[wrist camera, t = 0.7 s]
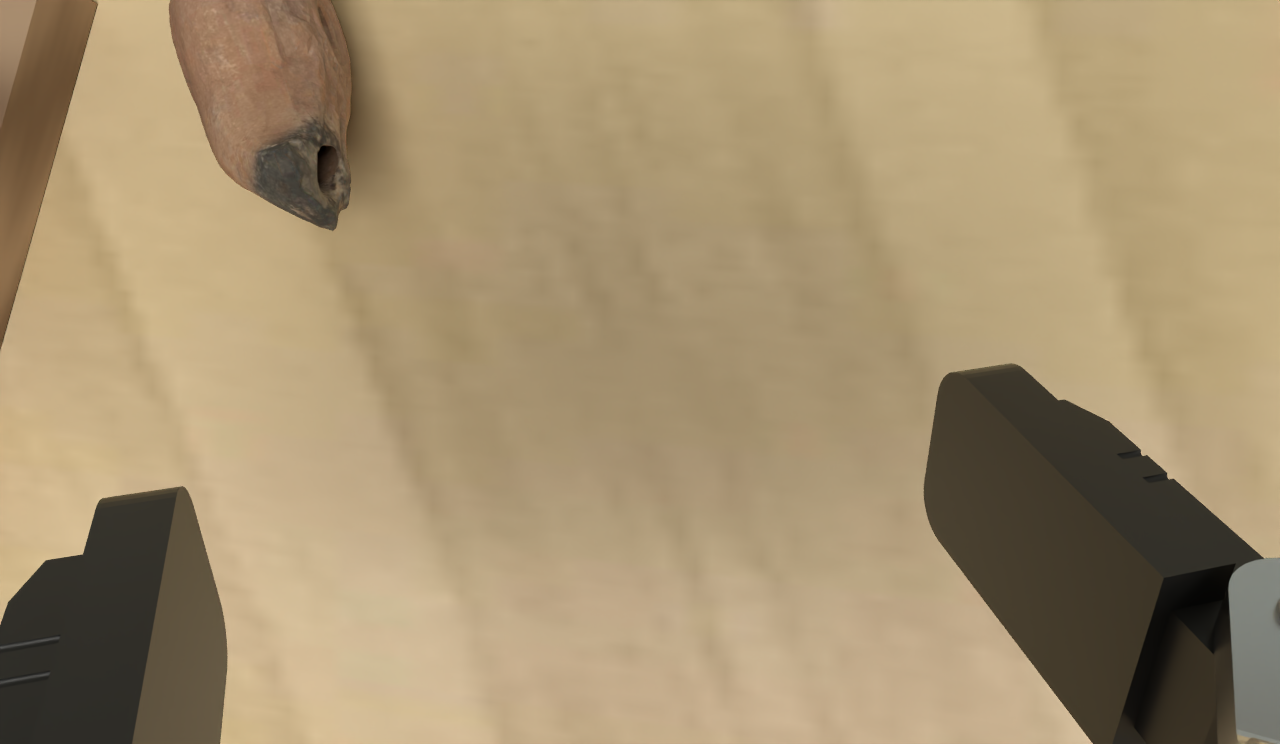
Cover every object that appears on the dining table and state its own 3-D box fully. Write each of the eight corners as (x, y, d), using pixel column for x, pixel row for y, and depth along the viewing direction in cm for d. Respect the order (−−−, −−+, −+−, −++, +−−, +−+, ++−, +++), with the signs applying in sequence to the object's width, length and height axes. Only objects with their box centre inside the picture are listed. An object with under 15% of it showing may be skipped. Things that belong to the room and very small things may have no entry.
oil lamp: (443, 220, 33) (387, 192, 25) (321, 275, 33) (226, 265, 25) (315, -59, 32) (215, -179, 24) (191, -3, 32) (50, -105, 24)
